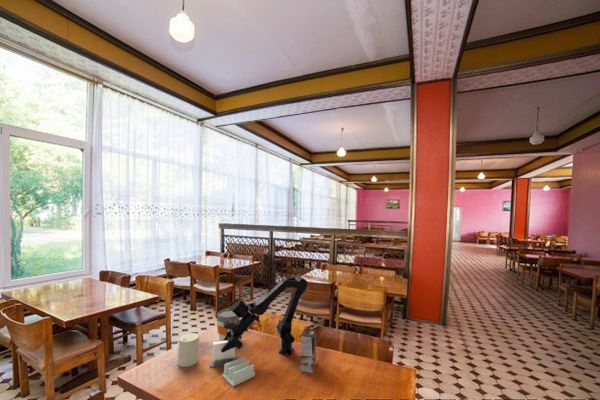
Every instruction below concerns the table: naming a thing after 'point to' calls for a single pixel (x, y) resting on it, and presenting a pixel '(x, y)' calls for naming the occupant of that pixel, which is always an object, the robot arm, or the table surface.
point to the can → (188, 349)
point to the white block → (218, 354)
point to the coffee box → (308, 350)
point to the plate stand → (221, 362)
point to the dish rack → (238, 371)
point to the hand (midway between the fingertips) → (221, 349)
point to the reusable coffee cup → (221, 318)
